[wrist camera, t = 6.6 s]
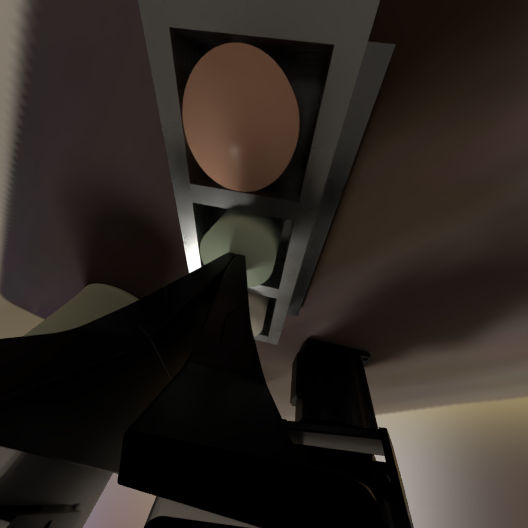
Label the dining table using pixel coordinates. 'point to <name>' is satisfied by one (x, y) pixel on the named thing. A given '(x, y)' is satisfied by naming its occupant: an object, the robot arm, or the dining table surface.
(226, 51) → the brown egg
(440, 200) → the dining table surface
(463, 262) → the dining table surface
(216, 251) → the green rounded piece
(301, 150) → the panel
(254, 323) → the white egg
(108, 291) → the can
